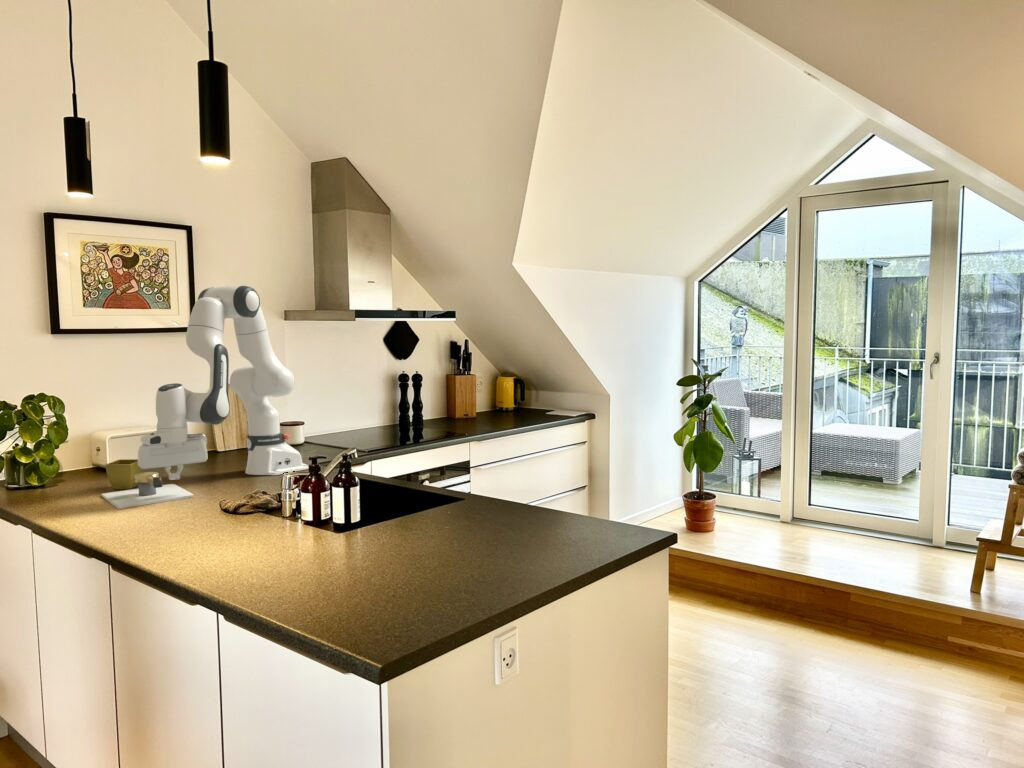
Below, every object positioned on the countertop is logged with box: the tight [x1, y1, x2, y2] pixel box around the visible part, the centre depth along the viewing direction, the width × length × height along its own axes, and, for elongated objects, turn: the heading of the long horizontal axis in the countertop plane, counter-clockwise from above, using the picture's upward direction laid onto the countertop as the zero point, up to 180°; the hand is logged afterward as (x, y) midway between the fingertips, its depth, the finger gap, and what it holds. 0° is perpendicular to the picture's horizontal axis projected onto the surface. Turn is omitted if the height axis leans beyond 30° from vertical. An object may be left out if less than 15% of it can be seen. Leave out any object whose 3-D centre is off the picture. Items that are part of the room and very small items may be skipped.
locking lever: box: [134, 471, 164, 488], centre depth 238 cm, size 17×7×3 cm, turn 40°
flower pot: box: [104, 458, 144, 490], centre depth 255 cm, size 9×9×9 cm
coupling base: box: [101, 483, 195, 510], centre depth 242 cm, size 22×22×5 cm
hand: (174, 479), depth 239 cm, fingers closed
